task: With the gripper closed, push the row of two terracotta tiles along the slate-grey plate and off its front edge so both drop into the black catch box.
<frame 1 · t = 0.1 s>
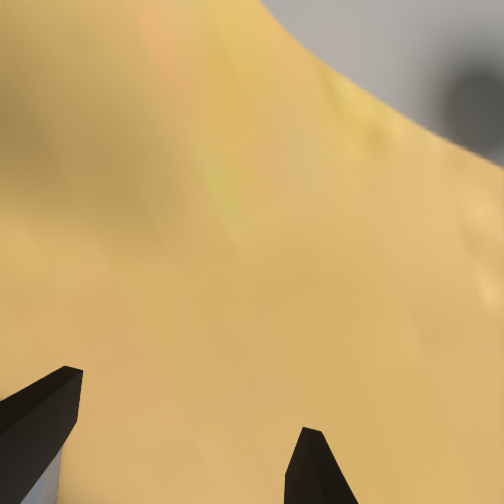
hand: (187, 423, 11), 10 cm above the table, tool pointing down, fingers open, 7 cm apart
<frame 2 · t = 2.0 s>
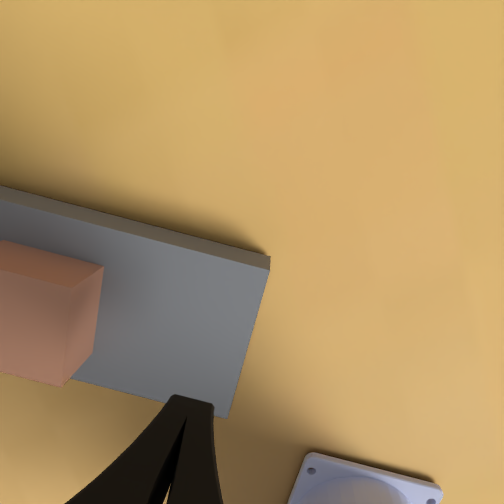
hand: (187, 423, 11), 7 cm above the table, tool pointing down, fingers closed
slate plate: (79, 283, 18), on the table
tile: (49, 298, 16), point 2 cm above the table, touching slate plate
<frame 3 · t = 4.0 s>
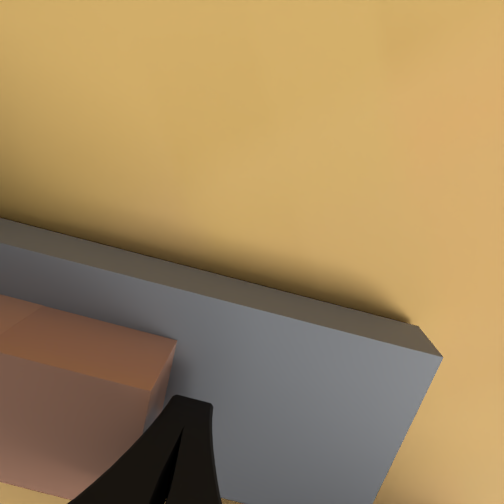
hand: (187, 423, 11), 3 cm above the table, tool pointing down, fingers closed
slate plate: (163, 356, 14), on the table
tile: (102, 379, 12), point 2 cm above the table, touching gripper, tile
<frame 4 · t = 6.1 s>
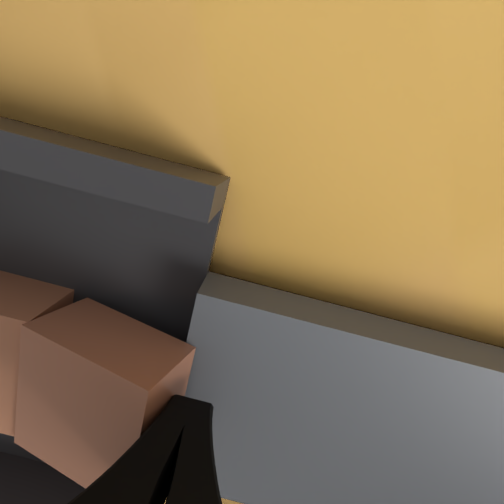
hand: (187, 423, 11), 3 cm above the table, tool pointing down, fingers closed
slate plate: (404, 417, 14), on the table
catch box: (35, 322, 14), on the table
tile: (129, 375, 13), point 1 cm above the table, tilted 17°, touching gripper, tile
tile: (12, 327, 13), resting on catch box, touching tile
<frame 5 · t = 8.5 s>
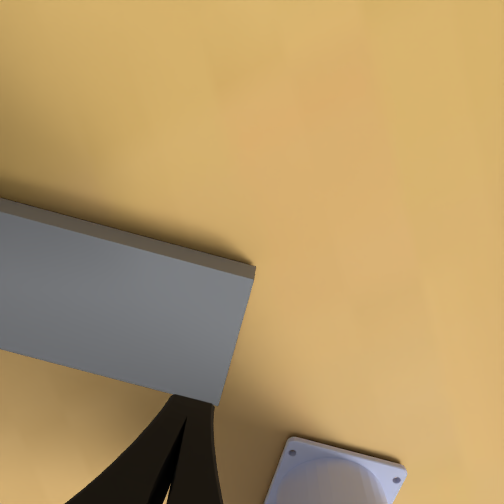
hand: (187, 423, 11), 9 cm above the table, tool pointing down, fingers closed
slate plate: (90, 288, 20), on the table
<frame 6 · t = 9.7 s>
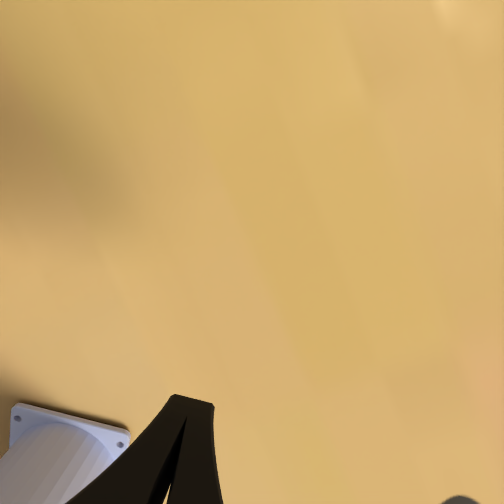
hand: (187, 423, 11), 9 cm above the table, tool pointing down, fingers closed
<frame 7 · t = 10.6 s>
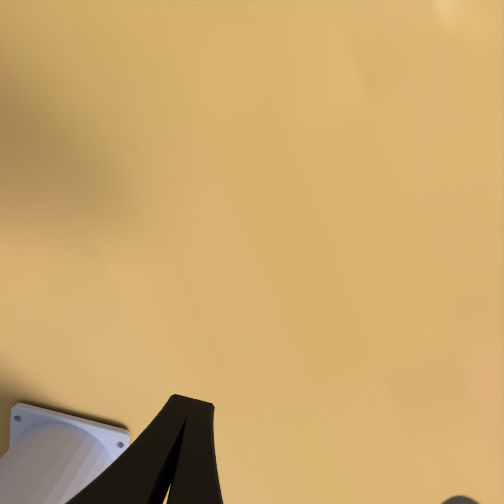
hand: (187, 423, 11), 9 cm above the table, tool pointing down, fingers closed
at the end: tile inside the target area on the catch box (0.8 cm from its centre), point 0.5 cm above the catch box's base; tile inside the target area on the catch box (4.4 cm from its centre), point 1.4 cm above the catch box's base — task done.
